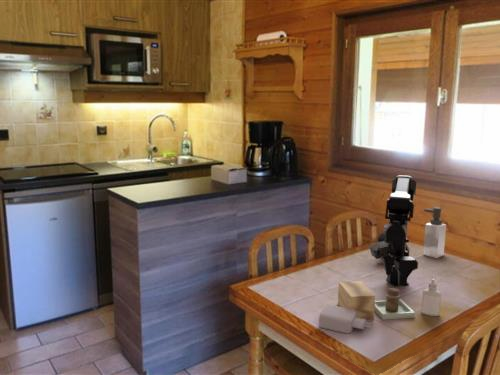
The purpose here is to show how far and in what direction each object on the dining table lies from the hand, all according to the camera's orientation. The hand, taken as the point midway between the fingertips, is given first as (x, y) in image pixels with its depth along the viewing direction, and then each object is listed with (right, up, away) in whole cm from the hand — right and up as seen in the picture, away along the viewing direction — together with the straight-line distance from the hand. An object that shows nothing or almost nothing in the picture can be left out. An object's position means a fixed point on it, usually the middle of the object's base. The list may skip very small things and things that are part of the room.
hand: (394, 280), depth 151 cm
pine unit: (-12, -11, +3) cm, 16 cm away
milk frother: (+17, -2, +49) cm, 52 cm away
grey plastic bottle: (-17, -13, -8) cm, 23 cm away
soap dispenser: (+35, 0, +59) cm, 69 cm away
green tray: (0, -11, +2) cm, 11 cm away
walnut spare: (0, -10, +2) cm, 11 cm away
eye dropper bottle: (+12, -11, +1) cm, 17 cm away
